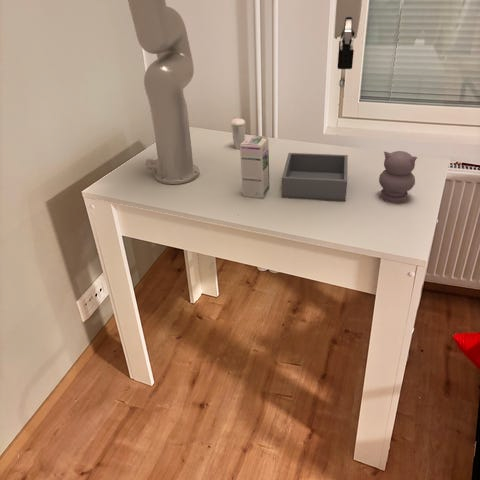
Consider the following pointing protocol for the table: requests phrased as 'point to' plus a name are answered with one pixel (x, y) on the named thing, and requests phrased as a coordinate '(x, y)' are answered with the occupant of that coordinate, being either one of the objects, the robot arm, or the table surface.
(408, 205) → the table surface
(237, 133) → the milkshake
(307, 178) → the bin
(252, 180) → the syrup box
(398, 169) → the cat figurine
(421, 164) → the table surface
